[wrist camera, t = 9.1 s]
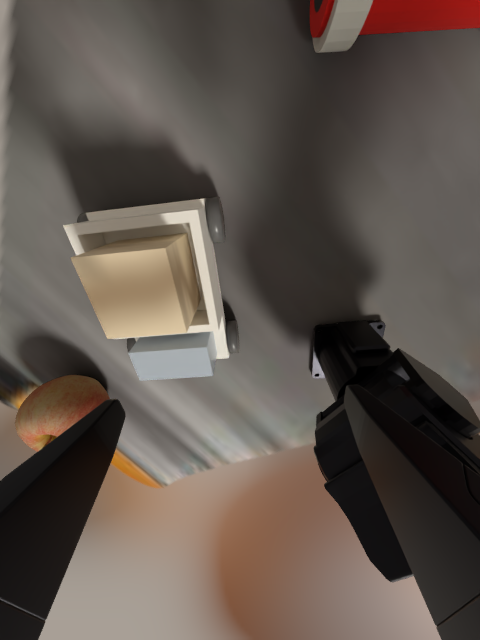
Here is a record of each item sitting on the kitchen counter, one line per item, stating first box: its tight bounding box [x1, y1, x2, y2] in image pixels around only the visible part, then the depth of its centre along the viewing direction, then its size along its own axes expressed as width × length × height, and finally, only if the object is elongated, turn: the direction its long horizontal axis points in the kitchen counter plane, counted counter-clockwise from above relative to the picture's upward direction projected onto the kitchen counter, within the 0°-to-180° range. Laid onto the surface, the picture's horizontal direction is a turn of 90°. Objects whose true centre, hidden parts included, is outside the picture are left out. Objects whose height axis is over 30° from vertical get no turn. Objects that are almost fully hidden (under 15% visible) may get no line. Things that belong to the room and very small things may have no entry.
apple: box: [15, 375, 110, 452], centre depth 23 cm, size 8×8×8 cm
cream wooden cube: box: [71, 233, 201, 339], centre depth 15 cm, size 5×5×5 cm
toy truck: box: [63, 197, 239, 381], centre depth 18 cm, size 13×10×6 cm
